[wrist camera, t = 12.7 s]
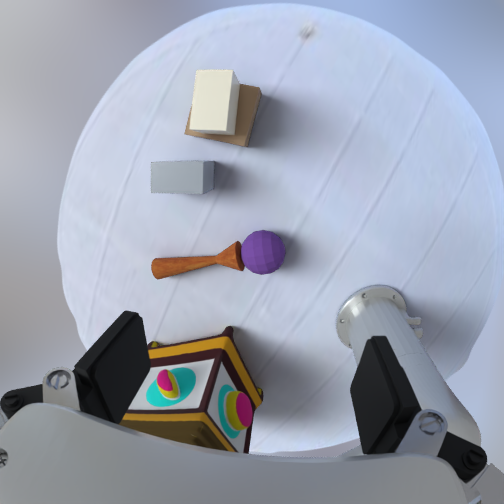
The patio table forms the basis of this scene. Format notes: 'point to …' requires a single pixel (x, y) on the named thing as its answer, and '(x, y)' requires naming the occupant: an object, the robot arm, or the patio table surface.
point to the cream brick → (215, 102)
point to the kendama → (231, 257)
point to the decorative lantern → (197, 395)
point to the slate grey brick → (182, 177)
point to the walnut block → (237, 118)
